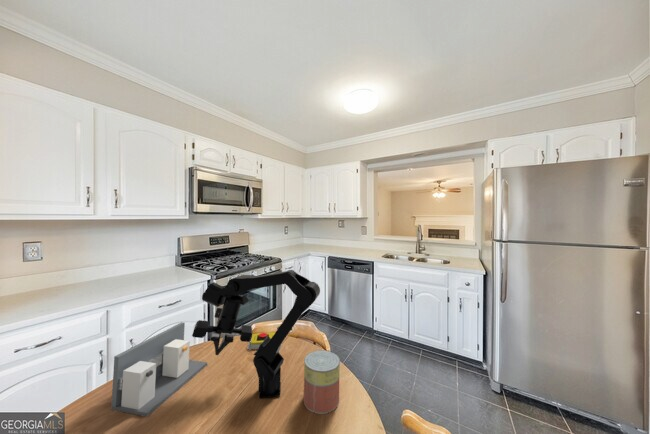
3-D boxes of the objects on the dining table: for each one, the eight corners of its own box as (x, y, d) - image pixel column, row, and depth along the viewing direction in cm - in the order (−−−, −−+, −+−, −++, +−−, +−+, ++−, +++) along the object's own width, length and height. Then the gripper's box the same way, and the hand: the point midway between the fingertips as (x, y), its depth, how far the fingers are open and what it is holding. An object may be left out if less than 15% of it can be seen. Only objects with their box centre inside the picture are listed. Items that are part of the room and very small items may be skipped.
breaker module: (190, 369, 83) (191, 341, 83) (179, 378, 78) (180, 348, 78) (174, 366, 84) (175, 339, 84) (162, 375, 79) (163, 346, 79)
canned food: (335, 385, 78) (335, 349, 78) (343, 411, 67) (344, 369, 67) (302, 388, 76) (302, 351, 76) (305, 416, 65) (305, 372, 65)
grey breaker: (156, 397, 69) (158, 363, 70) (140, 410, 65) (142, 373, 65) (138, 393, 71) (140, 360, 71) (121, 406, 66) (123, 370, 66)
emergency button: (249, 331, 108) (281, 329, 111) (249, 340, 108) (281, 338, 111) (247, 340, 99) (282, 338, 102) (246, 351, 99) (281, 348, 102)
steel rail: (183, 348, 89) (184, 340, 89) (121, 390, 66) (121, 379, 66) (181, 348, 89) (181, 340, 89) (118, 389, 66) (119, 379, 66)
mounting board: (207, 364, 88) (208, 325, 88) (147, 416, 63) (149, 361, 64) (179, 361, 90) (181, 322, 90) (111, 409, 66) (114, 356, 66)
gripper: (256, 304, 89) (244, 342, 89) (204, 296, 83) (192, 337, 83) (257, 319, 79) (244, 362, 79) (199, 312, 72) (184, 358, 72)
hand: (216, 354), depth 78 cm, fingers closed
